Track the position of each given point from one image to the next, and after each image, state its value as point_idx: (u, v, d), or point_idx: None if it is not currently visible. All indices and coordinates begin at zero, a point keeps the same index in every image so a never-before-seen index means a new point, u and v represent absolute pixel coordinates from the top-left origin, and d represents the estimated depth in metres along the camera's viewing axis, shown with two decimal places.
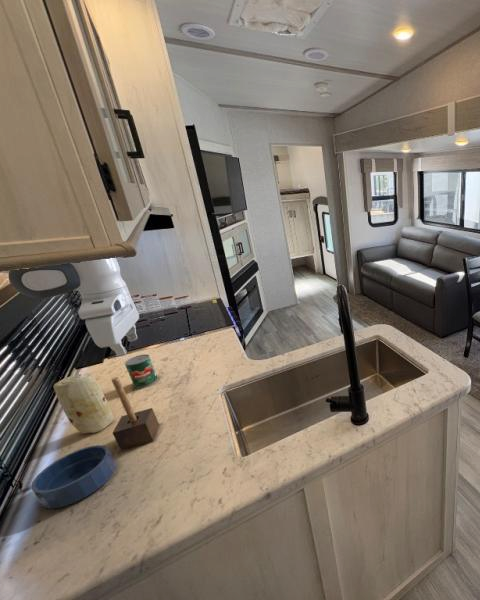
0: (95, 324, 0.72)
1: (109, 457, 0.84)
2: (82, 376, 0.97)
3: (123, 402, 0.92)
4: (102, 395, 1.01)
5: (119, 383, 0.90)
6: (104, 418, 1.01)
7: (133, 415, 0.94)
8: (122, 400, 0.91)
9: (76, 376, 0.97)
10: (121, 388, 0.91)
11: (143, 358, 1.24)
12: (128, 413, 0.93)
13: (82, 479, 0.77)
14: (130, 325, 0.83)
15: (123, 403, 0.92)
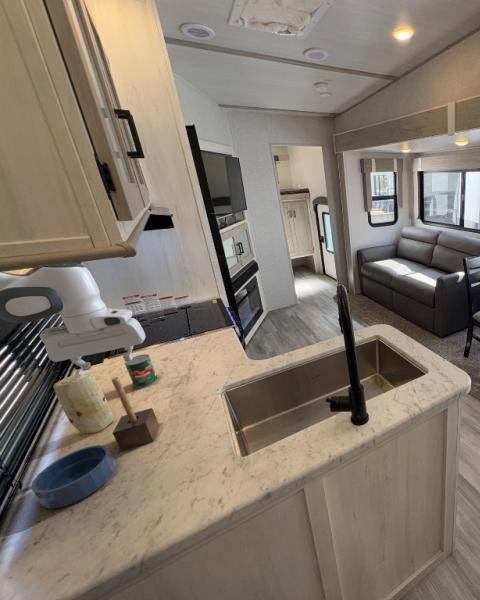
0: (134, 324, 0.87)
1: (109, 457, 0.84)
2: (82, 376, 0.97)
3: (123, 402, 0.92)
4: (102, 395, 1.01)
5: (119, 383, 0.90)
6: (104, 418, 1.01)
7: (133, 415, 0.94)
8: (122, 400, 0.91)
9: (76, 376, 0.97)
10: (121, 388, 0.91)
11: (143, 358, 1.24)
12: (128, 413, 0.93)
13: (82, 479, 0.77)
14: None
15: (123, 403, 0.92)
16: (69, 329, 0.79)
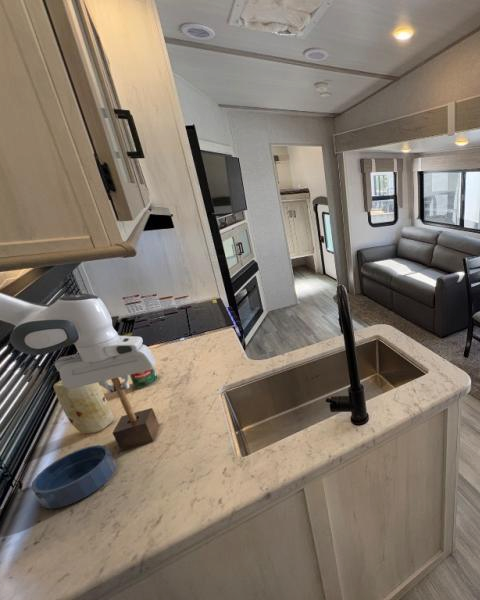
0: (145, 350, 0.90)
1: (109, 457, 0.84)
2: None
3: (123, 402, 0.92)
4: (102, 395, 1.01)
5: (119, 383, 0.90)
6: (104, 418, 1.01)
7: (133, 415, 0.94)
8: (122, 400, 0.91)
9: None
10: None
11: None
12: (128, 413, 0.93)
13: (82, 479, 0.77)
14: None
15: (123, 403, 0.92)
16: (83, 358, 0.82)
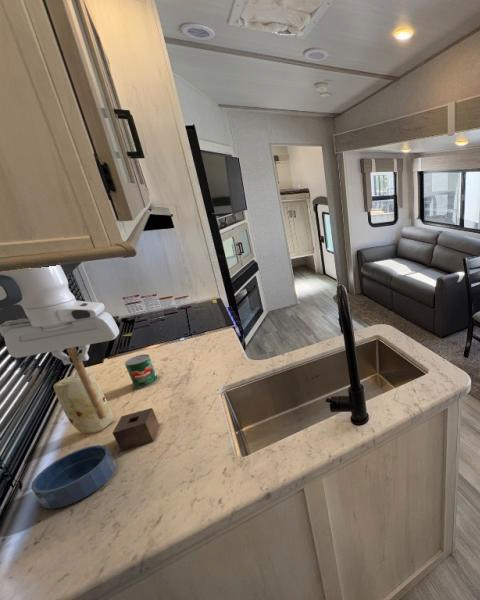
0: (106, 318, 0.81)
1: (109, 457, 0.84)
2: None
3: (81, 376, 0.82)
4: (102, 395, 1.01)
5: (76, 354, 0.80)
6: (104, 418, 1.01)
7: (93, 391, 0.84)
8: (80, 374, 0.81)
9: (76, 376, 0.97)
10: (78, 360, 0.81)
11: (143, 358, 1.24)
12: (87, 389, 0.83)
13: (82, 479, 0.77)
14: None
15: (81, 377, 0.82)
16: (32, 322, 0.73)
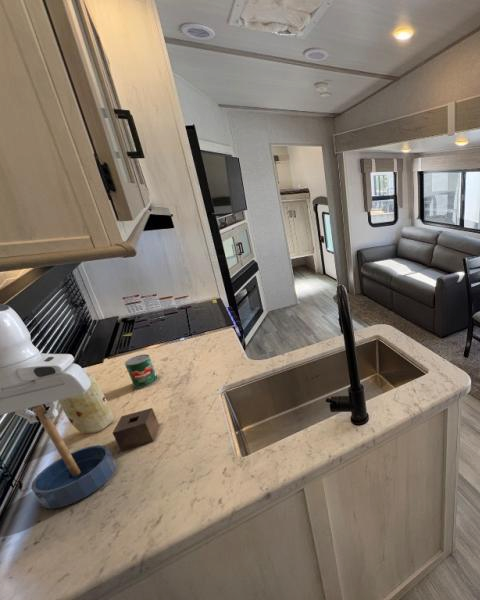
0: (75, 371, 0.74)
1: (109, 457, 0.84)
2: None
3: (50, 434, 0.75)
4: (102, 395, 1.01)
5: (43, 411, 0.74)
6: (104, 418, 1.01)
7: (64, 448, 0.78)
8: (48, 431, 0.75)
9: None
10: None
11: (143, 358, 1.24)
12: (57, 446, 0.77)
13: (82, 479, 0.77)
14: None
15: (50, 435, 0.76)
16: None
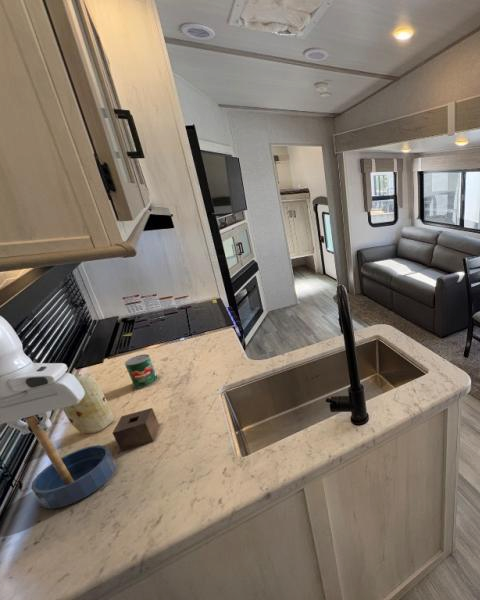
0: (68, 381, 0.73)
1: (109, 457, 0.84)
2: (82, 376, 0.97)
3: (43, 445, 0.74)
4: (102, 395, 1.01)
5: (36, 422, 0.72)
6: (104, 418, 1.01)
7: (58, 459, 0.76)
8: (41, 442, 0.74)
9: (76, 376, 0.97)
10: None
11: (143, 358, 1.24)
12: (50, 457, 0.75)
13: (82, 479, 0.77)
14: None
15: (43, 446, 0.74)
16: None
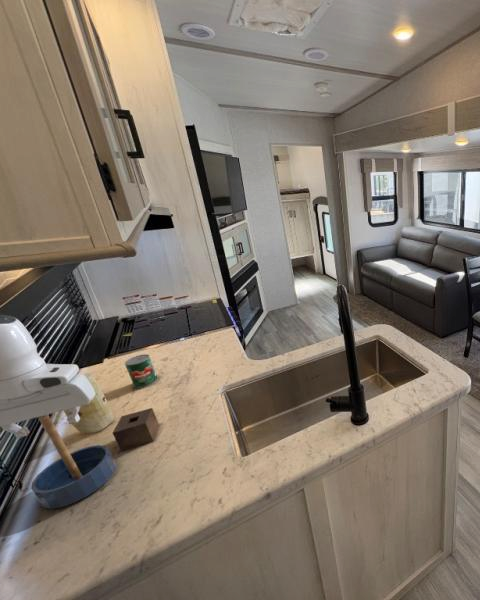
0: (80, 381, 0.75)
1: (109, 457, 0.84)
2: None
3: (55, 443, 0.76)
4: (102, 395, 1.01)
5: (48, 421, 0.75)
6: (104, 418, 1.01)
7: (69, 457, 0.79)
8: (53, 441, 0.76)
9: None
10: (51, 427, 0.75)
11: (143, 358, 1.24)
12: (62, 456, 0.78)
13: (82, 479, 0.77)
14: None
15: (55, 444, 0.77)
16: None
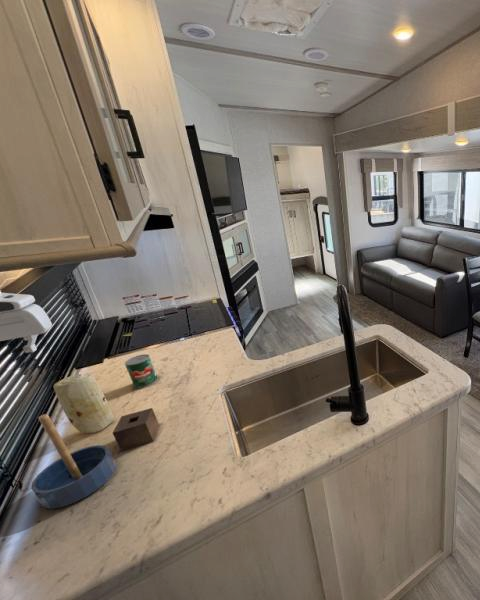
0: (35, 310, 0.78)
1: (109, 457, 0.84)
2: (82, 376, 0.97)
3: (55, 443, 0.76)
4: (102, 395, 1.01)
5: (48, 421, 0.75)
6: (104, 418, 1.01)
7: (69, 457, 0.79)
8: (53, 441, 0.76)
9: (76, 376, 0.97)
10: (51, 427, 0.75)
11: (143, 358, 1.24)
12: (62, 456, 0.78)
13: (82, 479, 0.77)
14: None
15: (55, 444, 0.77)
16: None
